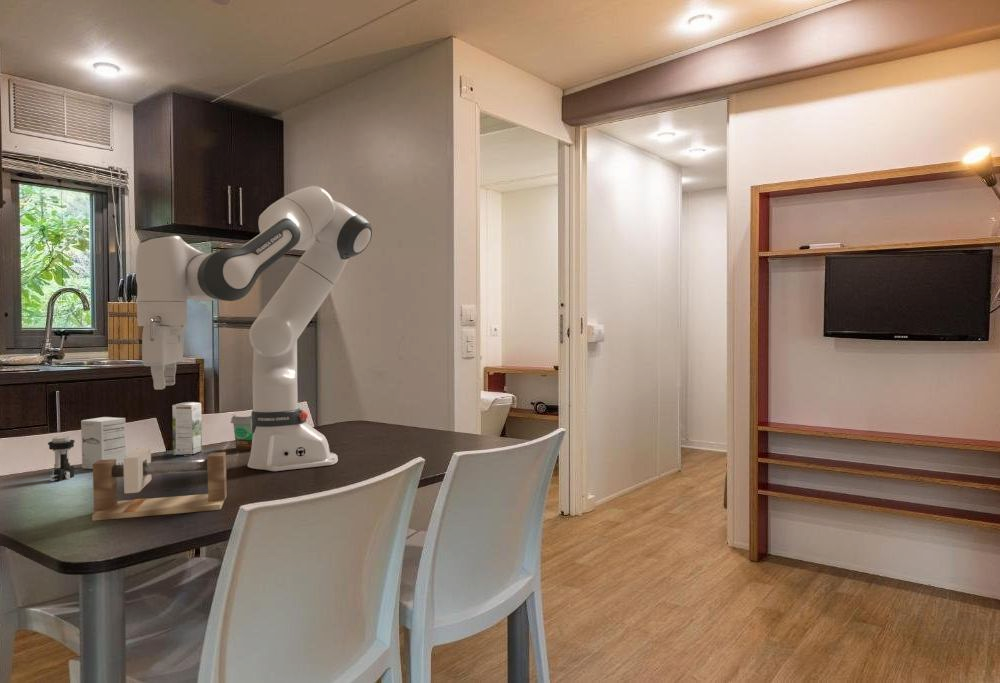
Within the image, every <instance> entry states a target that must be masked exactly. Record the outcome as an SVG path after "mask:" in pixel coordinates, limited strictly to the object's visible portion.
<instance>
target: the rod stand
mask: <svg viewBox="0 0 1000 683" xmlns="http://www.w3.org/2000/svg"><path fill="white" fill-rule="evenodd" d="M194 472H195V473H196V472H207V493H204V494H202V493H201V494H190V495H178V496H167V497H166V496H165V497H154V498H144V497H143V498H135V499H128V500H127V499H126V500H118V478H124V464H121V465H116V459H109V460H98V461H97V462H95V463H94V464H93V469H92V484H93V486H92V487H93V488H92V489H93V512H94V513H93V514H92V515H91V516H92V518H91V519H92V521H101V520H102V521H103V520H105V521H106V520H114V519H116V520H117V519H127V518H138V517H151V516H161V515H172V514H185V513H194V512H195V513H197V512H198V513H199V512H208V511H219V510H221V509H222V507H223V505H224V503H225V500H226V498H227V496H228V494H227V493H228V491H227V489H228V485H227V452H226V451H221V452H209V454H208V455H207V456H206V458H201V459H200V458H197V459H185V460H183V459H182V460H172V461H171V460H170V461H155V462H154V461H153V462H152V461H151V463H143V475H151V476H154V475H166V474H167V475H168V474H169V475H170V474H171V475H172V474H181V473H182V474H183V473H184V474H185V473H194Z"/></svg>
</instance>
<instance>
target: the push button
mask: <svg viewBox="0 0 1000 683" xmlns="http://www.w3.org/2000/svg"><path fill="white" fill-rule="evenodd" d="M74 443H75V439H71V436H69V435H67V436H65V435H64V436H56V437H52V440H51V441H48V443H47V445H48V449H49V450H52V451H53V452H54V466H53V467H54V469H52V470H51V475H49V478H51V479H50V480H49V481H50V482H51V481H52V482H61V481H65V480H67V479H71V478H74V477H75V468H74V465H71V463H70V457H69V456H70V455H69V454H70V453H69V451H70V450H71V449H72V448H74V446H75V444H74Z"/></svg>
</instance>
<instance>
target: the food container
mask: <svg viewBox="0 0 1000 683" xmlns="http://www.w3.org/2000/svg"><path fill="white" fill-rule="evenodd" d="M230 424H233V434H234V442H235V450H236V451H240V452H241V451H242V452H244V451H246V452H251V448H252V439H253V433H252V430H251V415H248V416H237V414H236V413H235V414H232V416H231V420H230Z"/></svg>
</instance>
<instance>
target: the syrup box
mask: <svg viewBox="0 0 1000 683" xmlns="http://www.w3.org/2000/svg"><path fill="white" fill-rule="evenodd" d="M171 407H172V412H171V413H172V456H173V455H176V454H194V455H196V454H195V453H197V452H199V453H201V452H200V451H203V449H202V448H203V443H202V442H203V440H202V439H203V438H202V435H203V434H202V433H203V432H202V429H203V428H202V420H203V418H202V414H203V413H202V403H201V402H197V401H196V402H195V401H187V402H181V403H176V404H172V406H171ZM183 449H184V450H183ZM178 450H180V451H178ZM197 454H198V453H197Z"/></svg>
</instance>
